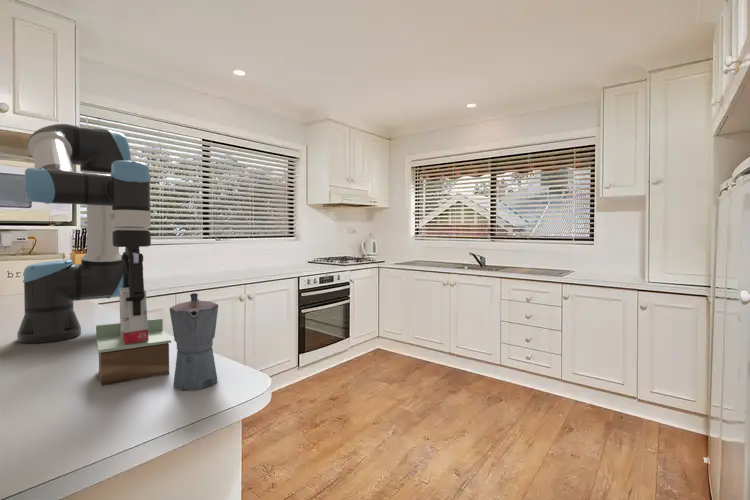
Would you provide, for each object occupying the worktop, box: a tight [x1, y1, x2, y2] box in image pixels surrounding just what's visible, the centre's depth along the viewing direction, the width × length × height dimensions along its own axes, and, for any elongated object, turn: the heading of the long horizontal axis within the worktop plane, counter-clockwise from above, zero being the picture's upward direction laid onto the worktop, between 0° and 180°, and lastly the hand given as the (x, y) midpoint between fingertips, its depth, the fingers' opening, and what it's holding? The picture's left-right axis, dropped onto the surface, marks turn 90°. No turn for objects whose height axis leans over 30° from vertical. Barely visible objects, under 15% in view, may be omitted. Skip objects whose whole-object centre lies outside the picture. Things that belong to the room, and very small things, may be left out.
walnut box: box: [98, 343, 170, 387], centre depth 93 cm, size 11×13×7 cm
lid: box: [95, 317, 172, 354], centre depth 93 cm, size 12×14×4 cm
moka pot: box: [169, 292, 219, 392], centre depth 87 cm, size 10×15×20 cm, turn 28°
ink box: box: [119, 287, 148, 344], centre depth 92 cm, size 9×5×12 cm, turn 37°
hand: (133, 325), depth 92 cm, fingers open, 10 cm apart
